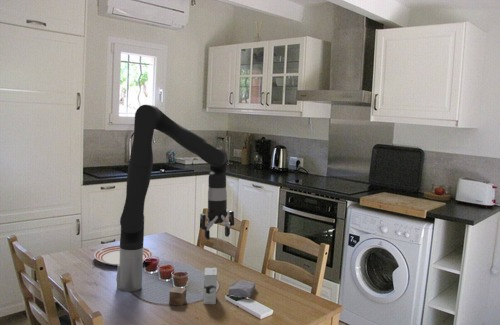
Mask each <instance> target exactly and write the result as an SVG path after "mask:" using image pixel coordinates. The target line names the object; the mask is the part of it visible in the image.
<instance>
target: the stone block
mask: <svg viewBox="0 0 500 325" xmlns="http://www.w3.org/2000/svg"><path fill="white" fill-rule="evenodd" d="M255 289H256V282H252V281H248V280H243V279H242V280H236V281H233V282H232V283H231V285H230V287H229V288H228V296H230V295H237V296H242V297H248V298H249V299H250V298H251V297H252V295H253V293H254V292H255Z"/></svg>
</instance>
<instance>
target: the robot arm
mask: <svg viewBox="0 0 500 325" xmlns="http://www.w3.org/2000/svg"><path fill="white" fill-rule="evenodd" d="M133 125H134V127H133V129H134V130H133V139H132V140H133V141H132V143H131V144H132V146H131V151H130V156H129V162H128V167H127V174H126V175H127V176H126V190H125V191H126V193H125V194H126V195H125V201H124V205H123V210H122V213H121V216H120V220H119V223H120V237H119V245H120V264H119V265H118V266H116V268H117V271H116V289H118V290H120V291H121V292H128V293H129V292H137V291H140V290H141V289H142V288H143V268H144V267H143V265H144V264H143V263H144V262H143V247H144V238H145V236H144V235H145V213H144V212H145V211H144V210H145V202H146V196H147V193H148V190H149V186H150V182H151V179H152V172H153V168H154V167H153V165H154V157H153V156H154V155H153V154H154V153H153V137H154V132H155V130H156V131H159V132H161V133H163V134H164V135H166V136H167V137H169V138H171V139H172V140H173V141H174V142H176V143H177V145H180V146H181V147H182V148H184V149H185V150H187V151H188V152H191V153H192V154H194V155H195V156H198V157H199V158H200V159H201V160H203V161H204V162H205V163H206V164H208V165H210V166H209V174H208V190H207V210H208V211H207V213H201V214H200V216H199V228H200V229H201V230H204V238H205V239H206V240H210V239H211V238H210V237H211V233H210V229H211V228H212V227H213V226H214V225H217V224H222V223H223V225H224V236H225V237H226V238H228V237H229V236H230V235H231V227H233V226H235V212H234V211H233V210H230V209H229V210H228V211H227V209H228V208H227V207H228V206H227V205H228V191H227V175H226V174H227V165H228V154H227V152H226V150H224V149H223V148H222V147H215V146H213V145H212V144H210V143H208V142H207V140H206V139H204V138H203V137H201V136H200V135H198V134H196V133H195V132H193V131H192V130H189V129H188V128H186V127H184V126H182V125H180V124H179V123H177V122H176V121H175V120H172V119H171V118H170V117H169V116H168V115H167V114H166V113H164V112H163V111H162V110H161V109H159V107H157V106H155V105H152V104H147V103H146V104H141V105H140V106H139V107H138V108H137V109H136V111H135V113H134V124H133ZM227 217H228V220H227ZM207 218H208V220H207ZM206 220H207V221H206Z"/></svg>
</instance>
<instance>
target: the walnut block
mask: <svg viewBox="0 0 500 325" xmlns="http://www.w3.org/2000/svg"><path fill="white" fill-rule="evenodd" d="M186 301H187V287H186V288H185V287H180V286H173V287H172V289H170V290H169V302H168V303H169V305H174V306H175V305H176V306H179V307H180V306H183V305H184V304H185V303H186Z"/></svg>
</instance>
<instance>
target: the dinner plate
mask: <svg viewBox="0 0 500 325" xmlns="http://www.w3.org/2000/svg"><path fill="white" fill-rule="evenodd" d="M93 256H94V259H95V260H96V261H99V262H101V263H102V264H106V265H110V266H114V267H117V266H118V265H119V264H120V244H117V245H110V246H106V247H102V248H99V249H97V250H96V251H95V252H94V254H93ZM153 257H154V252H153V251H152V250H150V249H149V248H147V247H144V246H143V263H144V259H145V258H151V259H152V258H153Z"/></svg>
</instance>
